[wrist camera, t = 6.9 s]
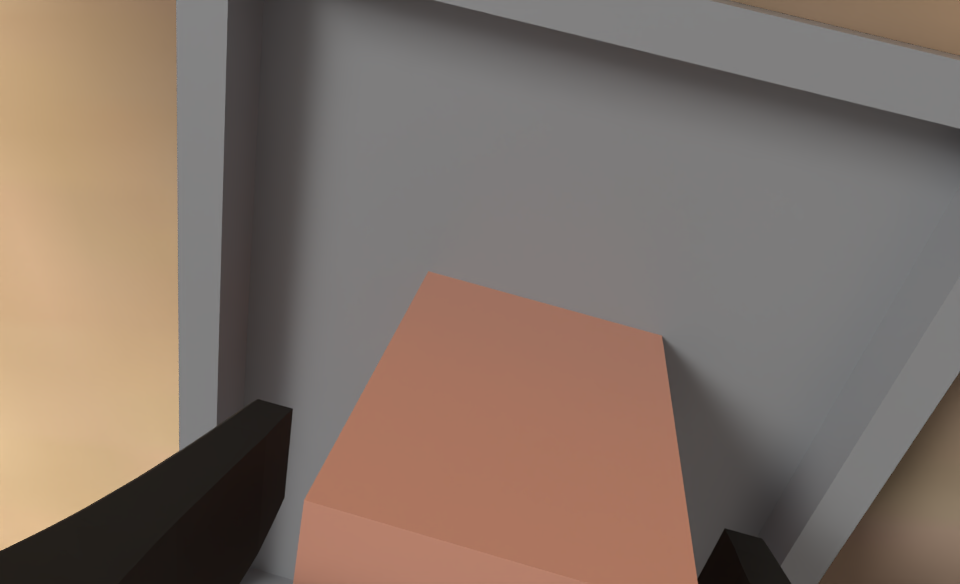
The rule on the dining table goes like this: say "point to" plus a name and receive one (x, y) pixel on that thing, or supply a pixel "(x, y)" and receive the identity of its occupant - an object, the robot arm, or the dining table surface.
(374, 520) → the tan block
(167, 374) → the dining table surface
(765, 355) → the grey tray
